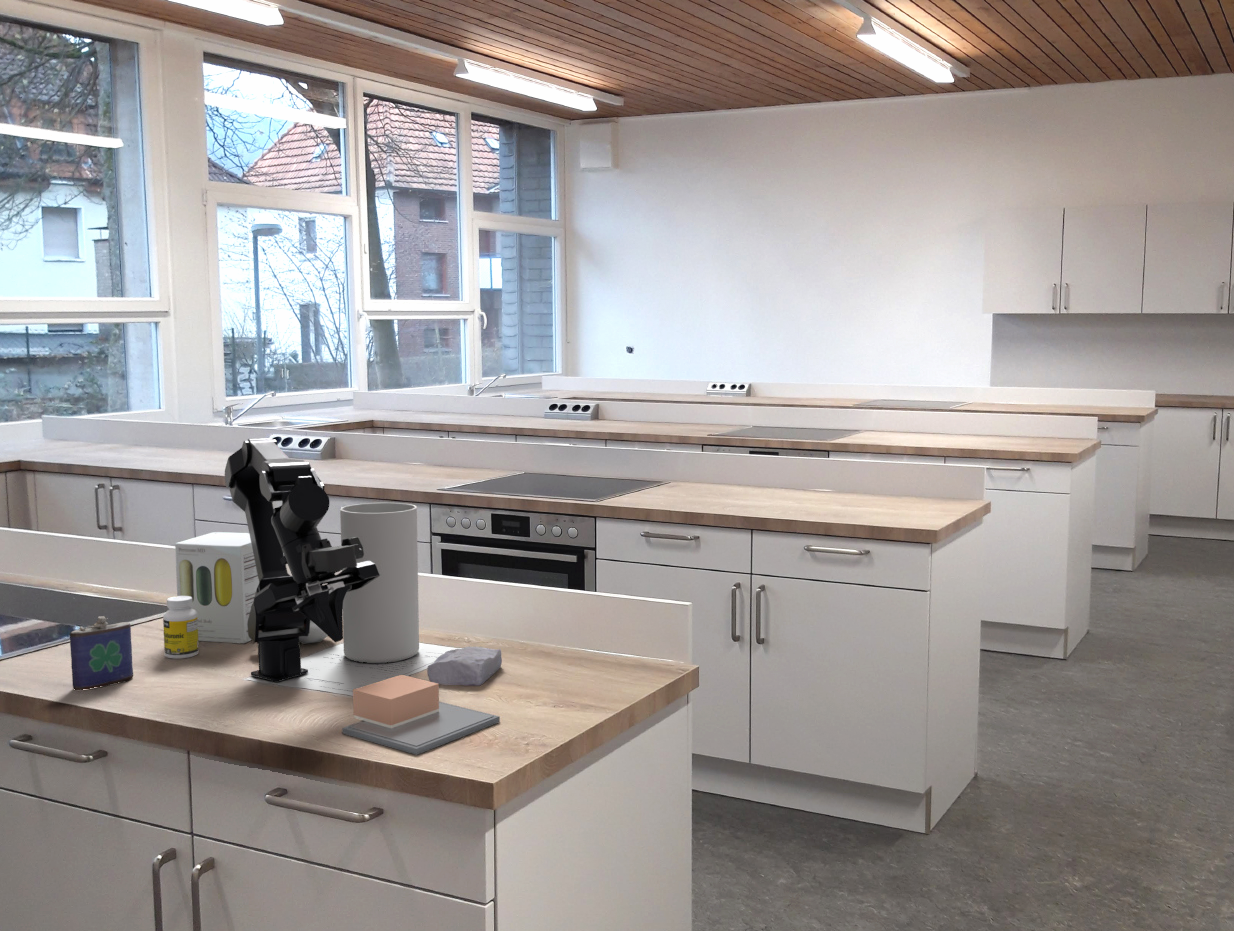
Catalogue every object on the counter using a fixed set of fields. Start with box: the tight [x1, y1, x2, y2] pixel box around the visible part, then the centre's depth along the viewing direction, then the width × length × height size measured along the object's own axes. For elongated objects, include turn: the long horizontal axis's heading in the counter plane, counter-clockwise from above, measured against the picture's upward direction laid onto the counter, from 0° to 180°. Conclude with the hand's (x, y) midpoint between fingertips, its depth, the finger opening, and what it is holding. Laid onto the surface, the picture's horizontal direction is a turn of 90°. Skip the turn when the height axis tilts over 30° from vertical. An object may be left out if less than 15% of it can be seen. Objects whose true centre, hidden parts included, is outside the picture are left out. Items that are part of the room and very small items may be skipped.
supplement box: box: [174, 531, 259, 644], centre depth 211 cm, size 13×13×18 cm
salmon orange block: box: [352, 674, 440, 728], centre depth 162 cm, size 4×9×8 cm
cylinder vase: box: [339, 502, 420, 664], centre depth 196 cm, size 12×12×25 cm
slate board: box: [342, 701, 501, 756], centre depth 160 cm, size 14×16×1 cm
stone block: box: [426, 646, 503, 687], centre depth 186 cm, size 12×5×10 cm
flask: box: [69, 615, 134, 691], centre depth 180 cm, size 9×3×11 cm, turn 138°
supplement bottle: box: [162, 595, 200, 660], centre depth 196 cm, size 5×5×10 cm
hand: (339, 640), depth 168 cm, fingers closed
